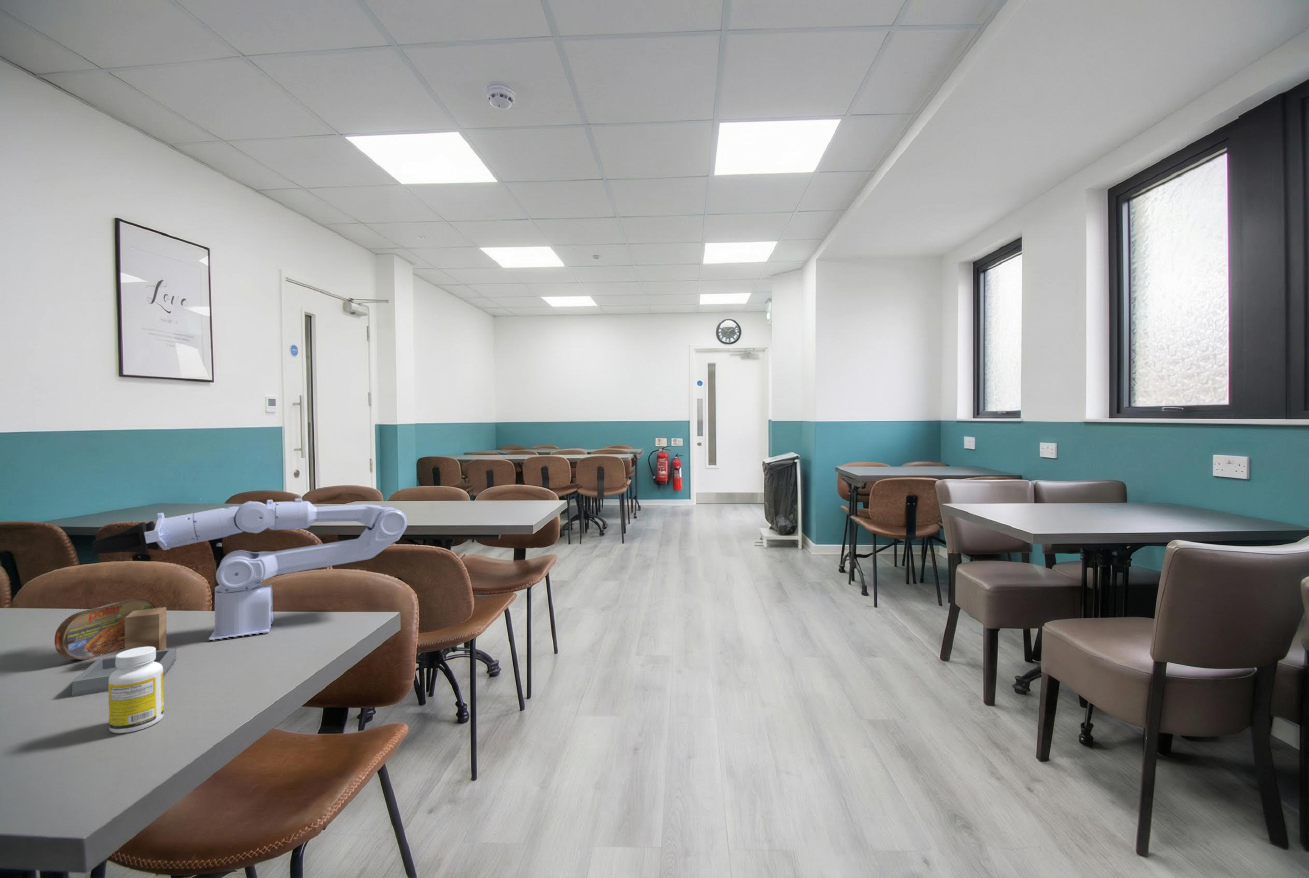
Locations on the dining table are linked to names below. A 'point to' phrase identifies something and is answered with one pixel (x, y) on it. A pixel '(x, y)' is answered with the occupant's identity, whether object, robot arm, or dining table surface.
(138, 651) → the supplement bottle
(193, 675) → the dining table surface
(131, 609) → the tin
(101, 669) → the tray
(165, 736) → the dining table surface
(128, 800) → the dining table surface
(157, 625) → the block
